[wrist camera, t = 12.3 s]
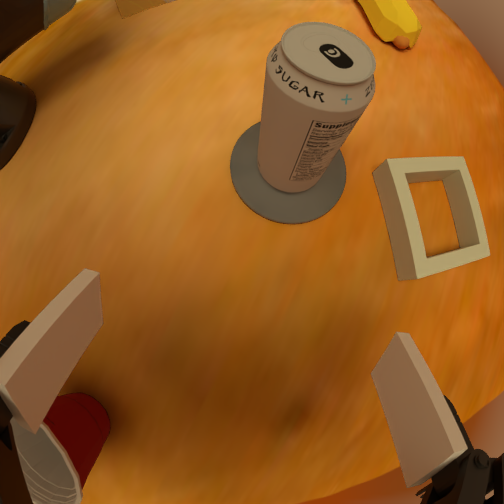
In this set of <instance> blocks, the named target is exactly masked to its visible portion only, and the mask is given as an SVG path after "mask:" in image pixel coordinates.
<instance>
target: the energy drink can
mask: <svg viewBox="0 0 504 504" xmlns="http://www.w3.org/2000/svg"><path fill="white" fill-rule="evenodd" d="M375 67H376V62H375V58H374V55H373V53H372V51H371V50H370V48H369V47H368V46H367V45H366V44H365V43H364V42H363V41H362V40H361V39H360V38H359V37H357V36H356V35H354V34H353V33H351V32H349V31H348V30H345V29H343V28H341V27H338V26H335V25H332V24H327V23H322V22H305V23H299V24H297V25H294V26H292V27H290V28H289V29H287V30H286V31H285V33H284V34H283V36H282V38H281V41H280V42H279V43H278V44H276V45H275V47H274V48H273V49H272V50H271V51H270V53H269V55H268V57H267V63H266V73H265V83H264V94H263V104H262V114H261V125H260V135H259V145H258V156H257V164H258V168H259V171H260V173H261V175H262V177H263V178H264V179H265V180H266V181H267V182H268V183H269V184H270V185H271V186H273V187H275V188H277V189H278V190H281V191H285V192H292V193H293V192H301V191H305V190H307V189H309V188H311V187H312V186H314V185H315V184H316V183H317V182H318V180H319V179H320V178H321V176H322V175H323V173H324V172H325V170H326V169H327V167H328V166H329V164H330V163H331V161H332V160H333V158H334V156H335V155H336V153H337V152H338V150H339V149H340V147H341V146H342V144H343V143H344V141H345V140H346V138H347V137H348V135H349V134H350V132H351V131H352V129H353V127H354V126H355V124H356V123H357V121H358V120H359V118H360V117H361V115H362V114H363V112H364V111H365V109H366V107H367V106H368V104H369V103H370V101H371V100H372V98H373V95H374V93H375V80H374V75H373V73H374V71H375Z"/></svg>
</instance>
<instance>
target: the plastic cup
mask: <svg viewBox="0 0 504 504" xmlns="http://www.w3.org/2000/svg"><path fill="white" fill-rule="evenodd" d="M10 423H11V425H12V429H13V434H14V439H15V444H16V448H17V452H18V456H19V460H20V464H21V468H22V471H23V474H24V478H25V481H26V484H27V487H28V490H29V493H30V496H31V499H32V501H33V503H35V504H80V502H81V500H82V497H83V493H82V489H83V487H84V484H85V482H86V479H87V477H88V475H89V473H90V471H91V469H92V467H93V465H94V463H95V461H96V460H97V458H98V456H99V454H100V452H101V449H102V447H103V444H104V443H105V441H106V439H107V437H108V434H109V432H110V419H109V417H108V415H107V412H106V410H105V409H104V408H103V407H102V405H101V404H100V403H99V402H98V401H97V400H95V399H94V398H93V397H91V396H90V395H87V394H84V393H71V394H66V395H62V396H57V397H56V398H55V400H54V402H53V404H52V405H51V407H50V409H49V411H48V412H47V414H46V416H45V418H44V419H43V421H42V423H41V425H40V427H39V429H38V431H37V432H36V434H33V433H32V432H30V431H28V430H27V429H25V428H23V427H22V426H20V425H19V424H18V423H17V421H16V420H15V418H14V417H12V419H11V420H10Z"/></svg>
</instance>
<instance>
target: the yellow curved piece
mask: <svg viewBox="0 0 504 504" xmlns="http://www.w3.org/2000/svg"><path fill="white" fill-rule="evenodd" d="M358 2H359V3H360V4H361V6H362V7H363V9H364V11H365V13H366V15H367V17H368V19H369V21H370V23H371V25H372V27H373V29H374V31H375V32H376V34H377V35H378V37H379V38H380V39H381V40H383V41H385V42H388V41H392V43H393V44H394V45H395V46H396V47H398V48H400V49H405V48H407V47H410V48H412V47H413V45H414V44H415V43H416V41H417V39H418V37H419V34H420V32H421V29H422V27H421V25H420V23H419V21H418V19H417V17H416V15H415V14H414V12H413V11H412V9H411V8H410V6H409V5H408V3H407V2H406V0H358Z"/></svg>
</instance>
